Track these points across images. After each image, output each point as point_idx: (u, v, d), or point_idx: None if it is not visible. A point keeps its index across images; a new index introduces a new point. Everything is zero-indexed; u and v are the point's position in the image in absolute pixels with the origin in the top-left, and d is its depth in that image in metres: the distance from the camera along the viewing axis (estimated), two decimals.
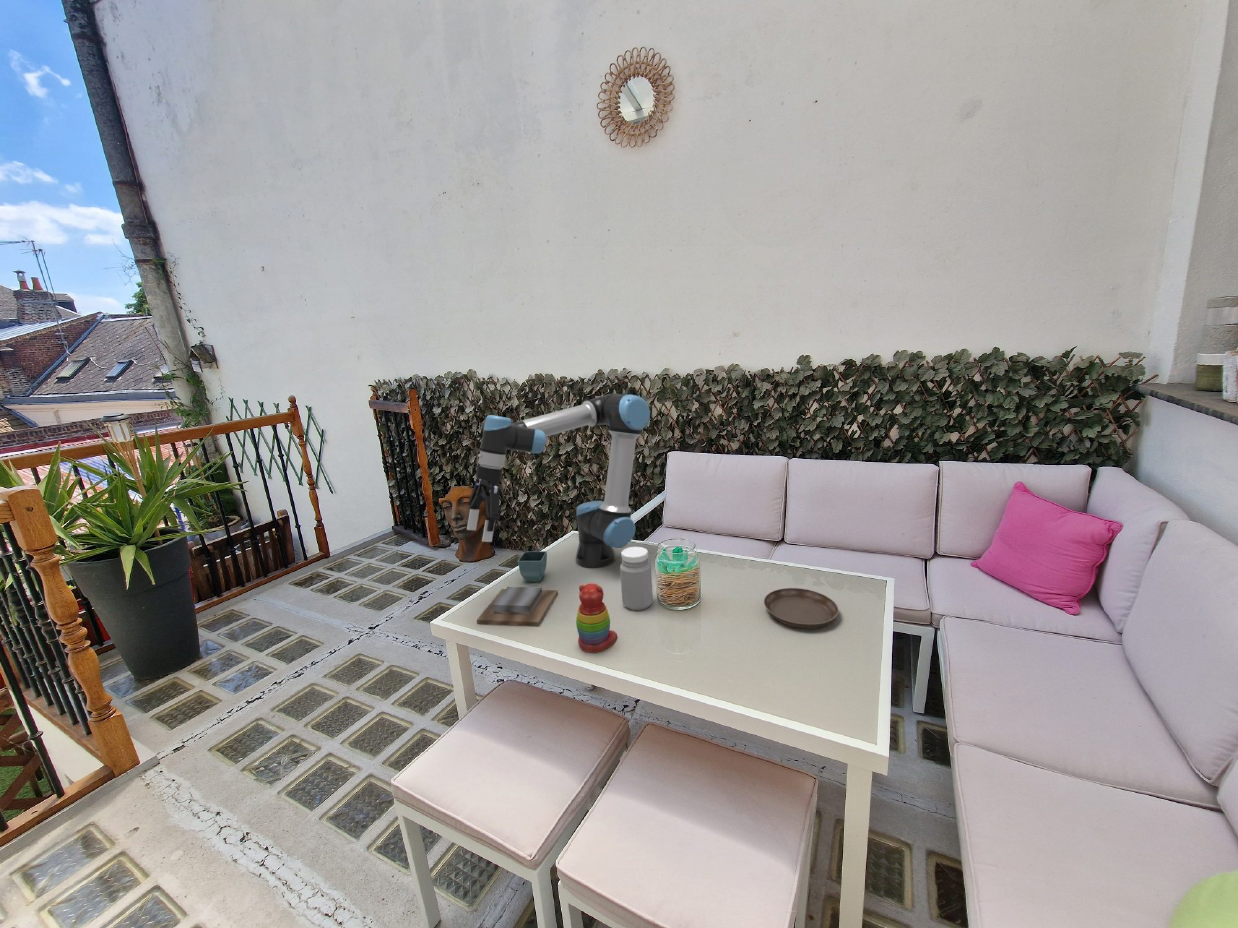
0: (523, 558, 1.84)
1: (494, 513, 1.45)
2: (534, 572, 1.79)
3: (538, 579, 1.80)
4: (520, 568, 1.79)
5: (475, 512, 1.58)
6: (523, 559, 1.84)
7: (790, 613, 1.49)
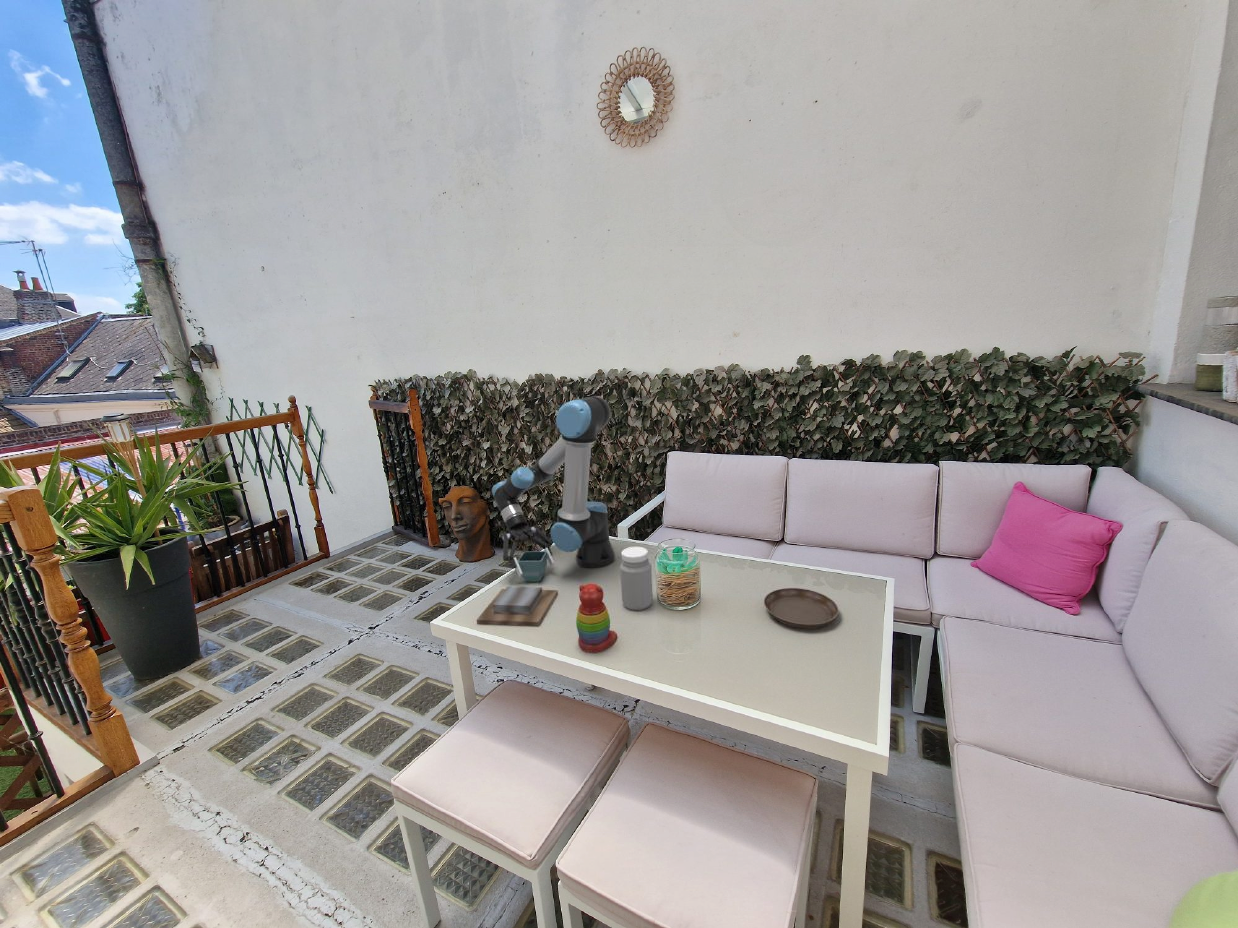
0: (523, 558, 1.84)
1: (503, 555, 1.80)
2: (534, 572, 1.79)
3: (538, 579, 1.80)
4: None
5: None
6: (523, 559, 1.84)
7: (790, 613, 1.49)
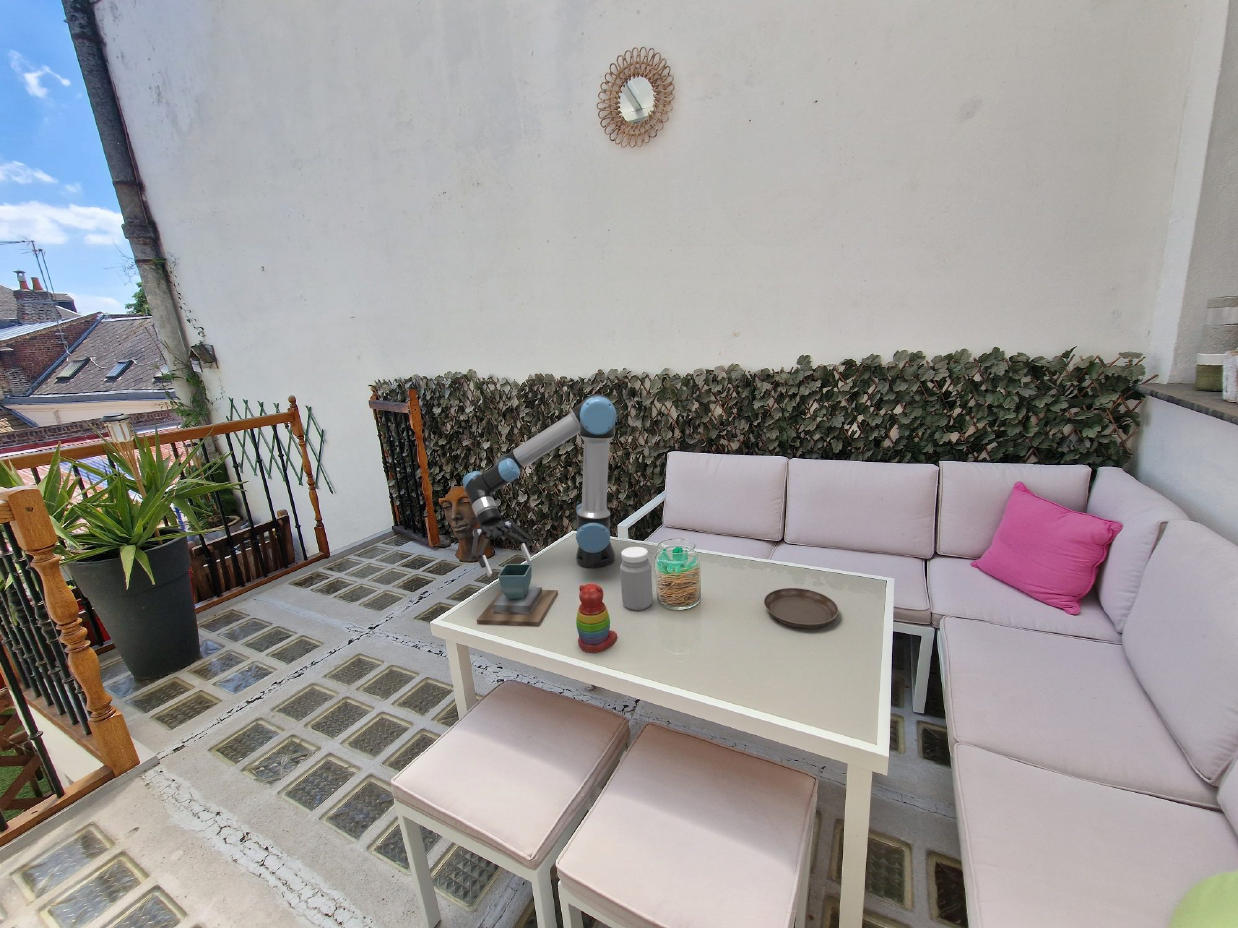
0: (504, 571, 1.62)
1: (471, 553, 1.60)
2: (517, 588, 1.58)
3: (521, 596, 1.59)
4: (501, 583, 1.57)
5: (522, 547, 1.67)
6: (504, 573, 1.62)
7: (790, 613, 1.49)
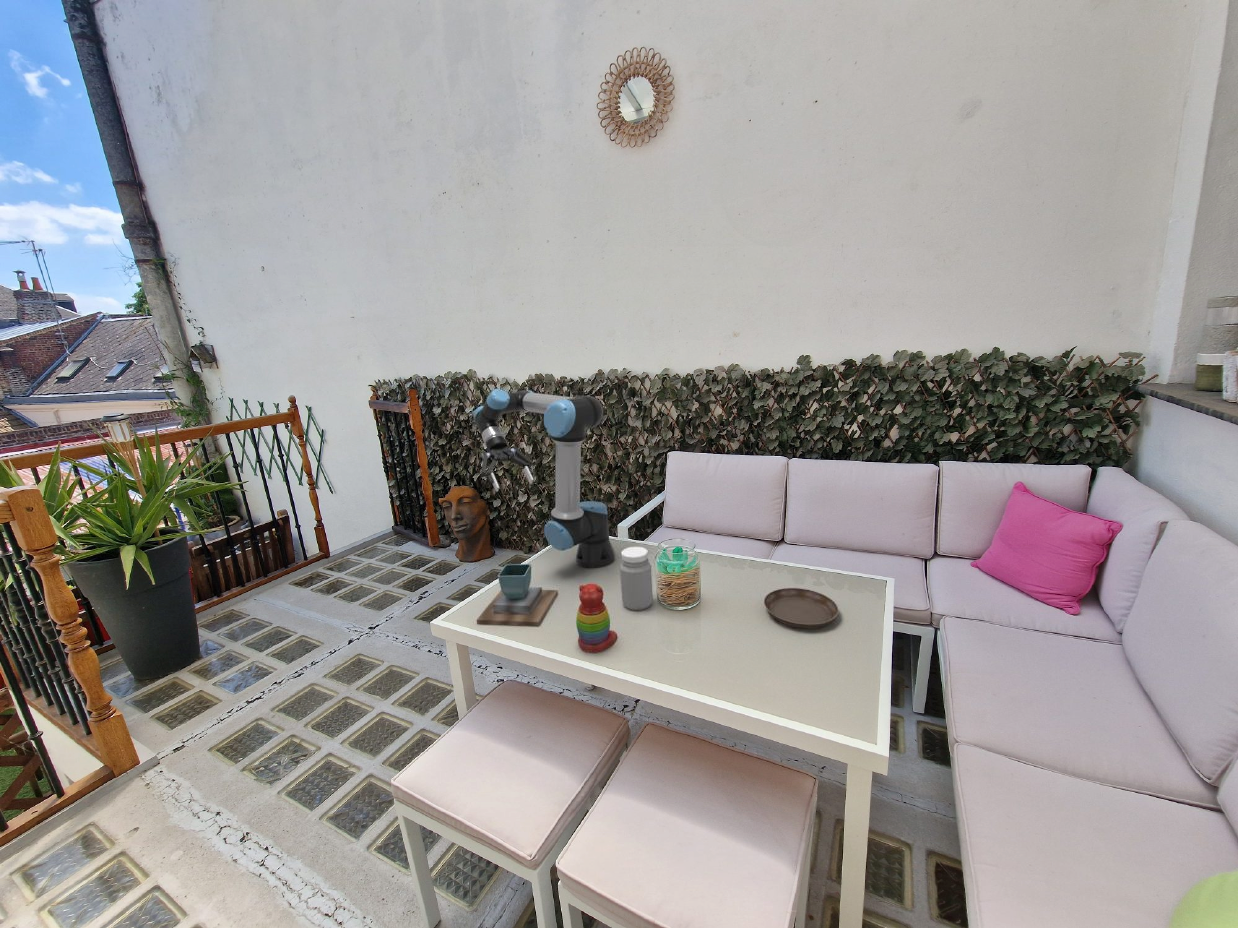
0: (504, 572, 1.62)
1: (481, 471, 1.85)
2: (517, 589, 1.58)
3: (521, 596, 1.59)
4: (501, 583, 1.57)
5: (525, 469, 1.92)
6: (504, 573, 1.62)
7: (790, 613, 1.49)
